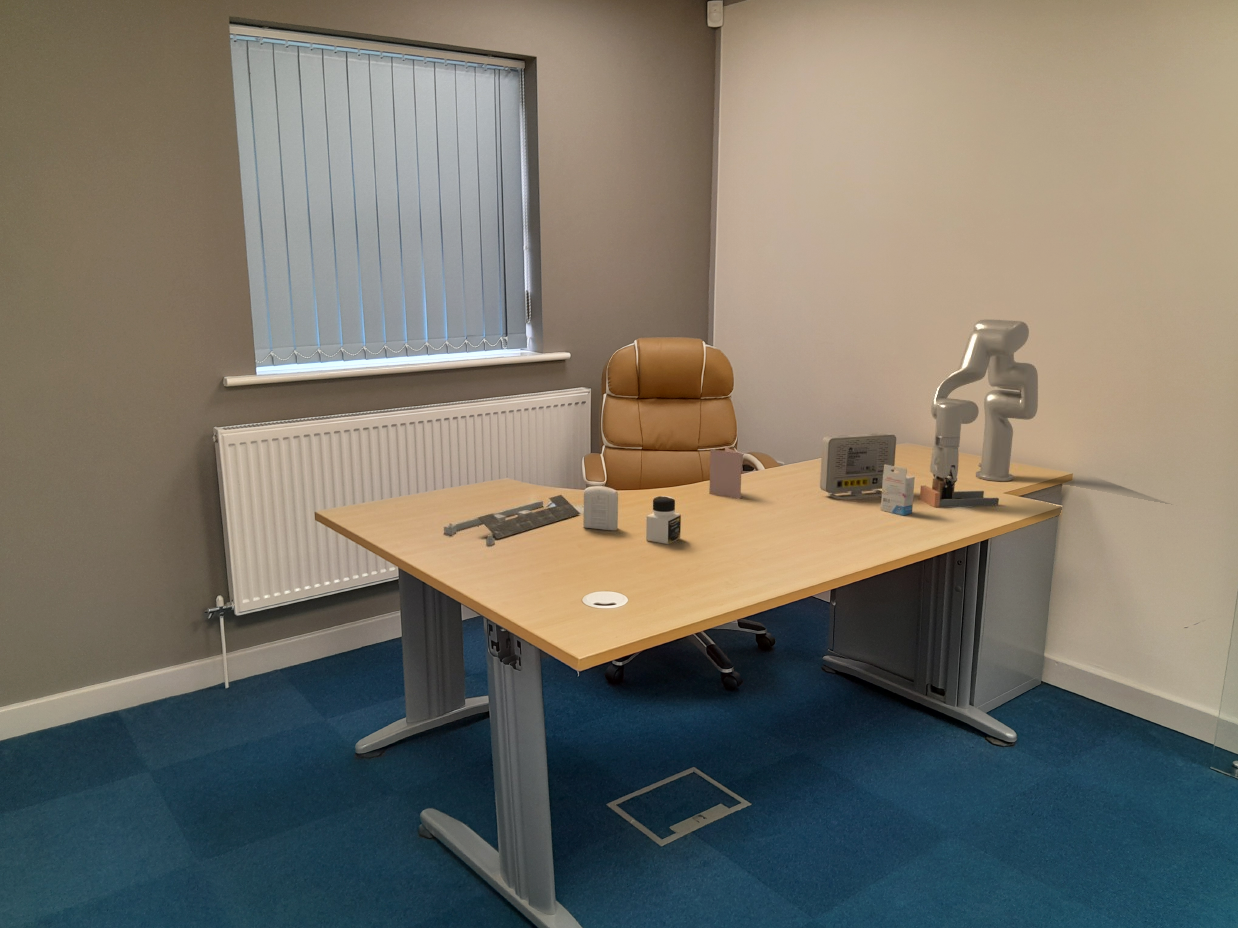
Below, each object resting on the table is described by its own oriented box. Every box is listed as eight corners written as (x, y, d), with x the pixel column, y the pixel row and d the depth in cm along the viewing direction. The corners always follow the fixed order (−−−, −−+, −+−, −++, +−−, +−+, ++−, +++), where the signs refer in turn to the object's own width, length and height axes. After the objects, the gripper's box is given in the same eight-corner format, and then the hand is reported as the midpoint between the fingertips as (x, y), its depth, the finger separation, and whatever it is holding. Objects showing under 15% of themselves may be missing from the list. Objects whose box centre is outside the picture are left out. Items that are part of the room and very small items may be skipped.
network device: (882, 488, 314) (886, 431, 310) (897, 495, 306) (901, 435, 302) (815, 494, 306) (819, 435, 302) (829, 500, 298) (833, 440, 294)
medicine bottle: (668, 544, 251) (669, 502, 249) (645, 540, 255) (646, 498, 252) (680, 538, 257) (681, 496, 254) (658, 534, 261) (659, 493, 258)
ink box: (912, 513, 284) (916, 466, 281) (903, 516, 281) (907, 468, 278) (889, 507, 290) (892, 462, 287) (879, 510, 287) (883, 464, 284)
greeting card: (742, 498, 301) (744, 453, 297) (722, 500, 298) (723, 455, 295) (726, 490, 311) (727, 446, 308) (706, 492, 308) (707, 448, 305)
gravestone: (619, 527, 267) (620, 486, 264) (615, 531, 263) (615, 489, 260) (586, 524, 270) (586, 483, 267) (581, 528, 266) (581, 486, 263)
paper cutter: (444, 534, 261) (443, 515, 260) (553, 503, 294) (553, 487, 293) (487, 547, 249) (487, 527, 248) (596, 513, 283) (596, 496, 282)
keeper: (931, 496, 299) (932, 478, 298) (945, 496, 299) (947, 478, 298) (938, 500, 294) (940, 482, 293) (953, 500, 295) (954, 481, 293)
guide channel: (919, 498, 301) (920, 485, 300) (981, 497, 304) (983, 483, 303) (934, 507, 291) (935, 493, 290) (998, 505, 294) (999, 491, 293)
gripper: (923, 436, 300) (919, 490, 304) (948, 447, 284) (944, 504, 288) (945, 436, 301) (940, 490, 305) (971, 446, 285) (966, 503, 289)
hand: (942, 496), depth 297 cm, fingers closed on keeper, 5 cm apart
